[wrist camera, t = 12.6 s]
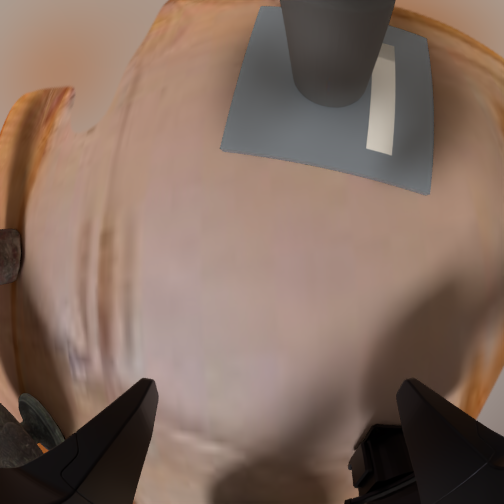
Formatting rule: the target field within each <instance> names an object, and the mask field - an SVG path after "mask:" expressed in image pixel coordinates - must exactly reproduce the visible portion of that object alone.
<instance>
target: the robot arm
mask: <svg viewBox="0 0 504 504" xmlns="http://www.w3.org/2000/svg"><path fill="white" fill-rule="evenodd" d="M396 400H397V404H398V409H399V414H400V420H401V425H402V426H394V425H374V426H372V428H371V429H370V431H369V433H368V434H367V436H366V438H365V439H364V441H363V442H362V443H361V444H360V445H359V447H358V448H357V450H356V451H355V453H354V455H353V456H352V458H351V461H350V463H349V464H348V469H349V470H352V477H353V486H354V487H355V488H358V491H359V497H356V498H353V499H351V498H350V499H348V500H345V503H344V504H504V437H503V436H501V435H500V434H498V433H496V432H494V431H492V430H491V429H489V428H487V427H486V426H484V425H483V424H481V423H480V422H478V421H476V420H475V419H474V418H472V417H471V416H469V415H468V414H466V413H465V412H463V411H462V410H461V409H459V408H458V407H456V406H455V405H453V404H452V403H450V402H449V401H447V400H446V399H444V398H443V397H442V396H440V395H439V394H437V393H436V392H434V391H433V390H431V389H430V388H428V387H427V386H426V385H424V384H423V383H421V382H420V381H418V380H417V379H415V378H409V379H405V380H404V381H403V383H402V385H401V387H400V389H399V390H398V392H397V395H396ZM157 405H158V391H157V388H156V384H155V381H154V380H153V379H148V378H142V379H140V380H139V381H138V382H137V383H136V384H134V385H133V386H132V387H131V388H130V389H128V390H127V391H126V392H125V393H124V394H122V395H121V396H120V397H119V398H117V399H116V400H115V401H114V402H113V403H111V404H110V405H109V406H108V407H106V408H105V409H104V410H103V411H101V412H100V413H99V414H98V415H96V416H95V417H94V418H93V419H91V420H90V421H89V422H88V423H86V424H85V425H84V426H83V427H81V428H80V429H79V430H78V431H77V432H76V433H74V434H72V435H71V436H70V437H69V438H67V439H66V440H64V441H63V442H62V443H60V444H59V445H57V446H56V447H54V448H53V449H51V450H49V451H48V452H46V453H44V454H43V455H41V456H39V457H37V458H35V459H34V460H32V461H30V462H28V463H26V464H24V465H22V466H19V467H14V468H0V504H132V503H133V500H134V496H135V492H136V489H137V485H138V482H139V478H140V475H141V471H142V468H143V464H144V461H145V457H146V454H147V451H148V447H149V444H150V441H151V437H152V433H153V427H154V421H155V416H156V410H157ZM376 429H377V430H376Z"/></svg>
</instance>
